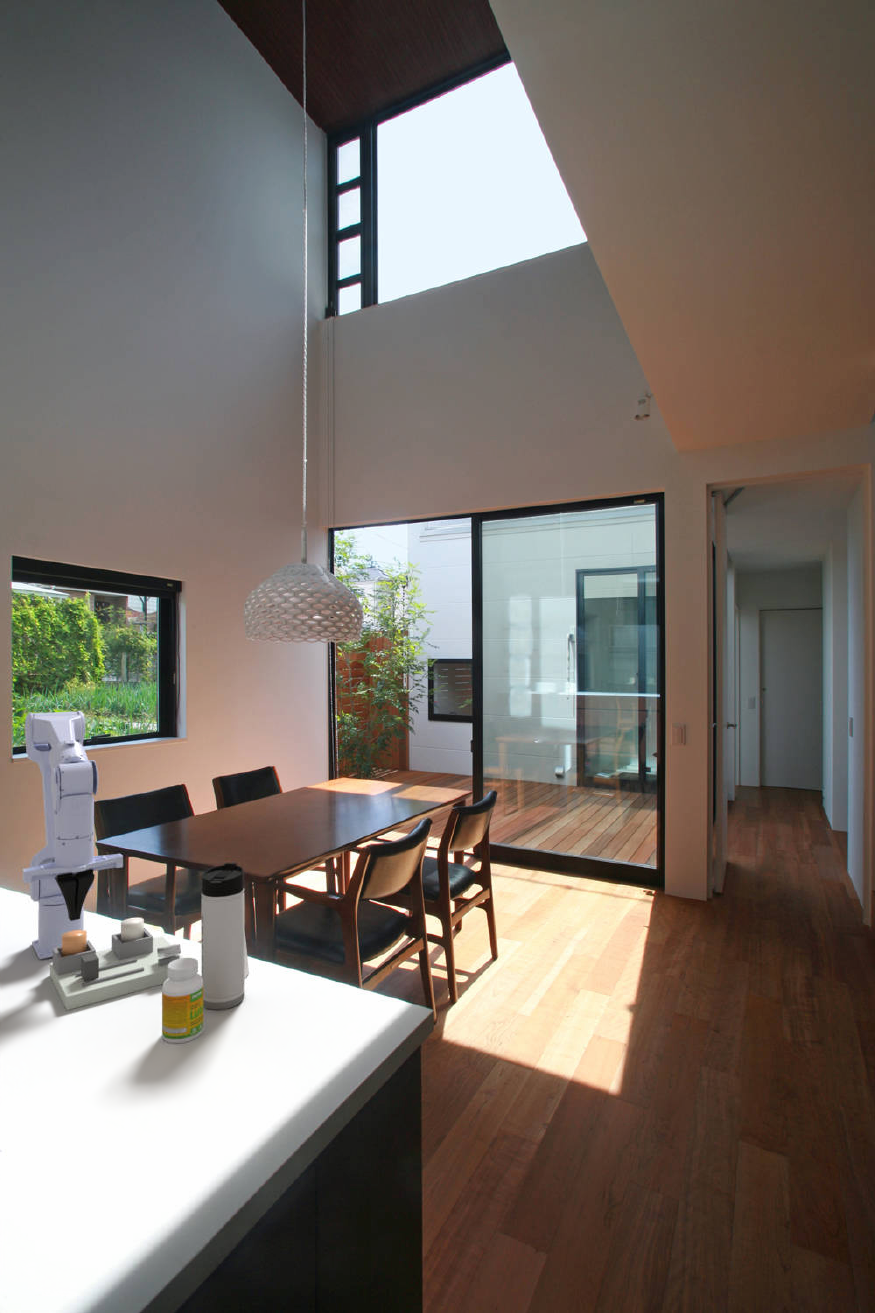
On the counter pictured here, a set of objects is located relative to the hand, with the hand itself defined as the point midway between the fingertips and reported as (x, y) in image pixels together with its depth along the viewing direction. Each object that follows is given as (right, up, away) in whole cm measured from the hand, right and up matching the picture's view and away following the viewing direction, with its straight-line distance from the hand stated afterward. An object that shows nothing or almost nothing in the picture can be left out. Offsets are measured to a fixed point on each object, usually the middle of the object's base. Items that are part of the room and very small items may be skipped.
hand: (74, 918), depth 112 cm
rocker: (+15, -6, +1) cm, 16 cm away
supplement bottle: (+25, -9, -18) cm, 32 cm away
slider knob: (+5, -7, -5) cm, 10 cm away
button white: (+7, -6, +5) cm, 11 cm away
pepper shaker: (+26, -10, 0) cm, 28 cm away
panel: (+7, -10, 0) cm, 12 cm away
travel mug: (+27, -10, -8) cm, 30 cm away
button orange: (0, -6, 0) cm, 6 cm away
